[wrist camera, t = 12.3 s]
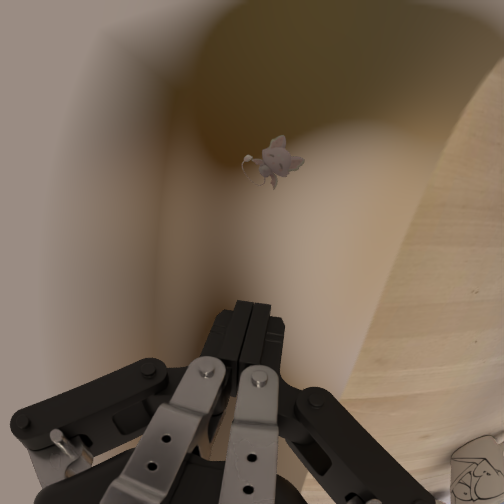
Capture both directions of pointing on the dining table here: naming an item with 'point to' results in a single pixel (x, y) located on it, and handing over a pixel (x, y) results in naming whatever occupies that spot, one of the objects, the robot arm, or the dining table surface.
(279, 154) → the toy
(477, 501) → the mug
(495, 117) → the dining table surface
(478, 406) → the dining table surface
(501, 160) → the dining table surface
